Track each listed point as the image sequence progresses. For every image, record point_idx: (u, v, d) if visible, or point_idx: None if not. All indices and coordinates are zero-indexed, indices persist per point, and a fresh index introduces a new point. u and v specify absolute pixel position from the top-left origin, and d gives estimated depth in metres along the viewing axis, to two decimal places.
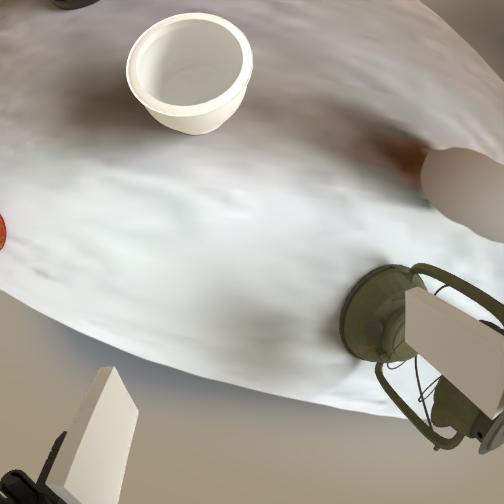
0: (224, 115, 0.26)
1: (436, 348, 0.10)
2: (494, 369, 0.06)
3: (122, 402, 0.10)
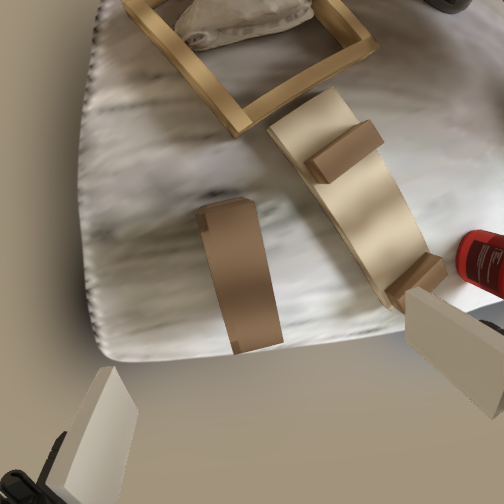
0: None
1: (436, 348, 0.10)
2: (494, 369, 0.06)
3: (122, 402, 0.10)
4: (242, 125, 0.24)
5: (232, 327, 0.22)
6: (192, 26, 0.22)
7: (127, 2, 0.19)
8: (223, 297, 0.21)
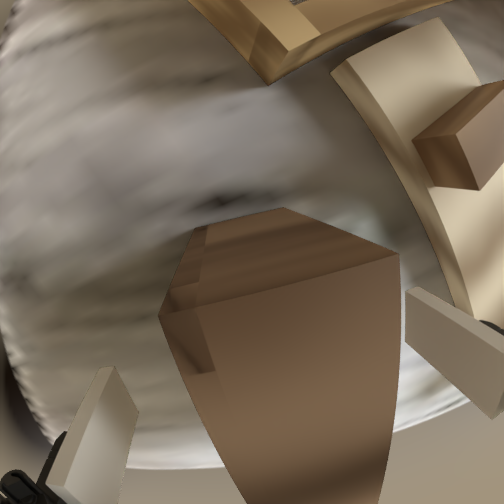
0: None
1: (436, 348, 0.10)
2: (494, 369, 0.06)
3: (122, 402, 0.10)
4: (296, 37, 0.08)
5: None
6: None
7: None
8: (262, 500, 0.06)
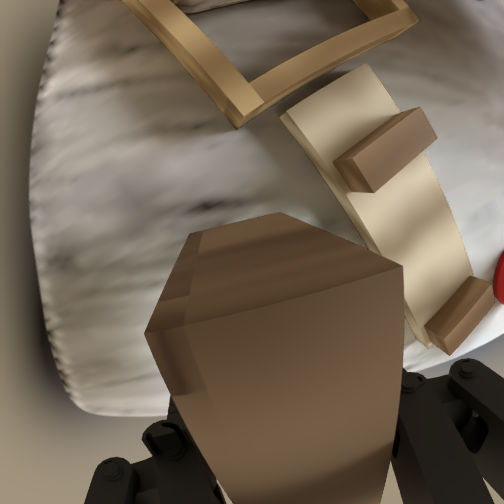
0: None
1: None
2: None
3: None
4: (248, 106, 0.16)
5: None
6: None
7: None
8: None
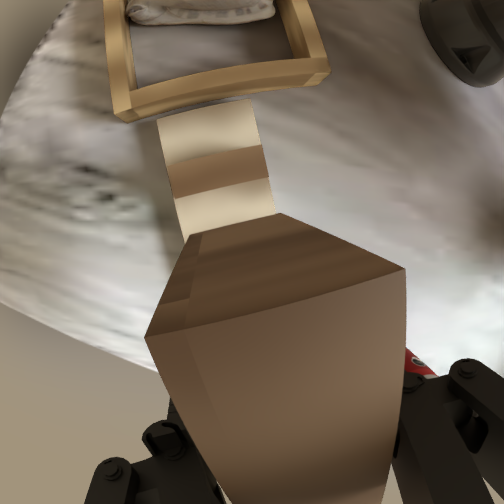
0: None
1: None
2: None
3: None
4: (120, 108, 0.20)
5: None
6: None
7: None
8: None
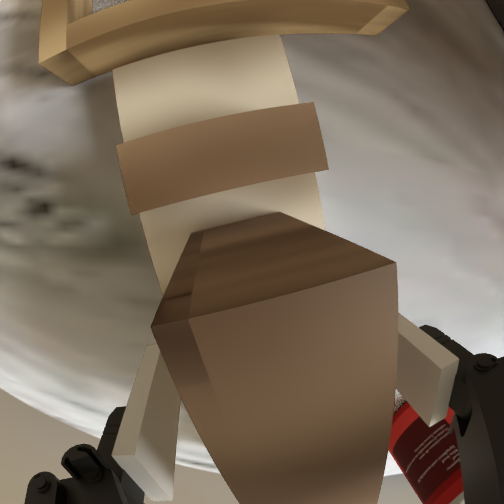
0: None
1: None
2: (426, 376, 0.08)
3: (170, 377, 0.12)
4: (49, 52, 0.08)
5: None
6: None
7: None
8: None
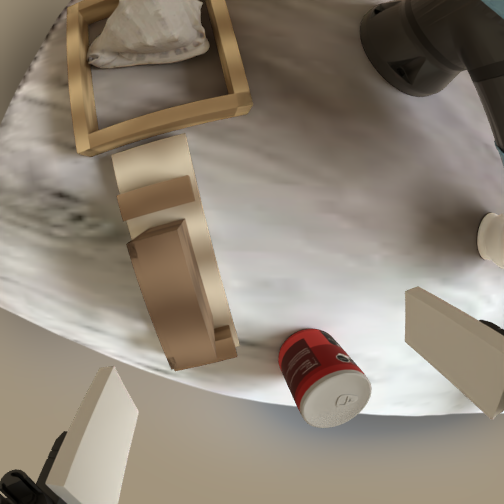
0: None
1: (436, 348, 0.10)
2: (494, 369, 0.06)
3: (122, 402, 0.10)
4: (81, 148, 0.25)
5: (166, 344, 0.23)
6: (96, 46, 0.23)
7: (68, 14, 0.21)
8: (155, 317, 0.22)
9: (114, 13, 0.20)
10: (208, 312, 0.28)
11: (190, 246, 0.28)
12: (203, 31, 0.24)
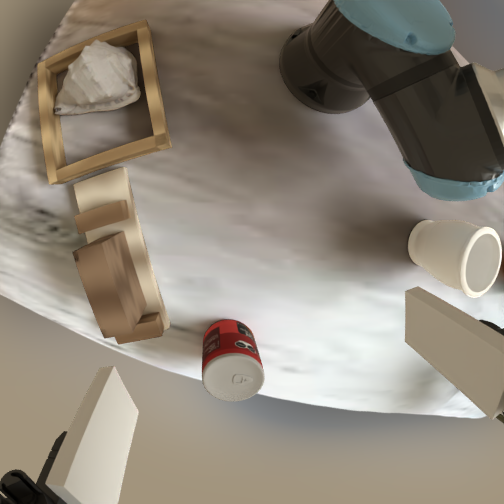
0: (472, 280, 0.38)
1: (436, 348, 0.10)
2: (494, 369, 0.06)
3: (122, 402, 0.10)
4: (51, 181, 0.34)
5: (100, 320, 0.32)
6: (60, 99, 0.32)
7: (38, 70, 0.29)
8: (92, 301, 0.31)
9: (67, 76, 0.28)
10: (137, 300, 0.37)
11: (124, 252, 0.37)
12: (131, 85, 0.32)
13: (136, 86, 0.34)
